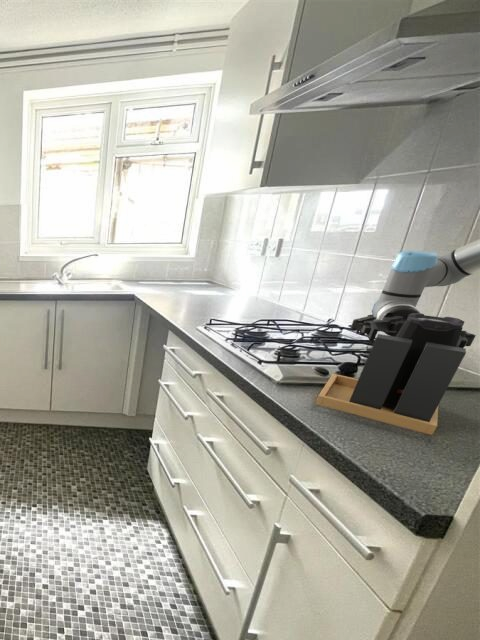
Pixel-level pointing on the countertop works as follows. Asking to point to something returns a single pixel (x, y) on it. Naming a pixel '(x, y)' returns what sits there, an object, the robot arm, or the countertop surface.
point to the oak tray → (339, 396)
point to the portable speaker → (422, 345)
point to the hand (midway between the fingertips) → (415, 340)
